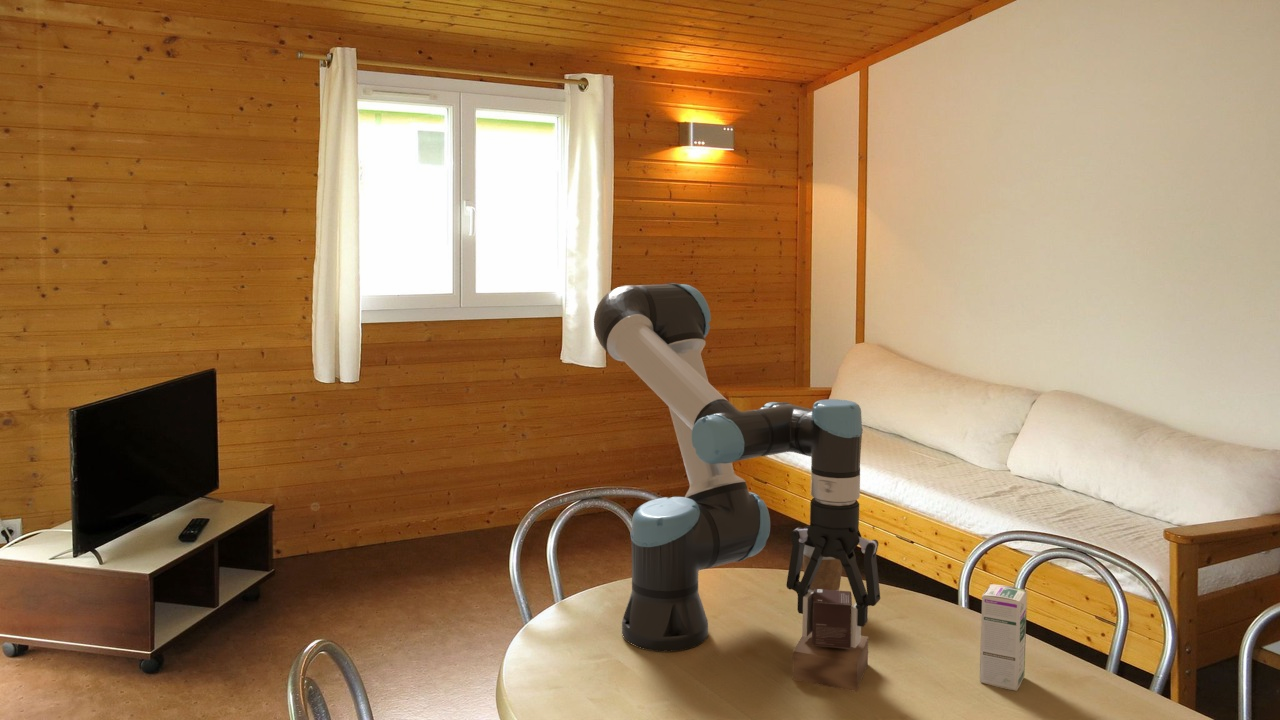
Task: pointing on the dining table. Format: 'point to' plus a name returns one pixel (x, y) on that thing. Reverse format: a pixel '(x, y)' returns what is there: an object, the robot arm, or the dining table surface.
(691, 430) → the robot arm
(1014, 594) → the syrup box
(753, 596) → the dining table surface
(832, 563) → the coffee cup
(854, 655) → the walnut block
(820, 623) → the box
